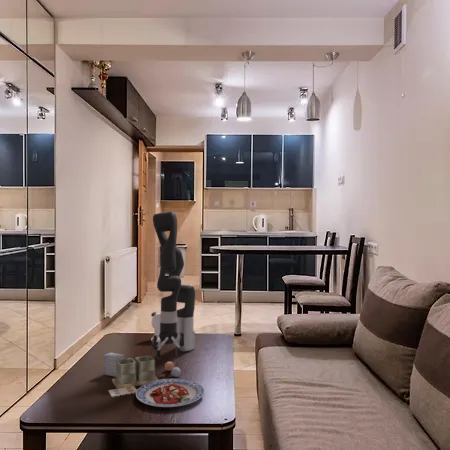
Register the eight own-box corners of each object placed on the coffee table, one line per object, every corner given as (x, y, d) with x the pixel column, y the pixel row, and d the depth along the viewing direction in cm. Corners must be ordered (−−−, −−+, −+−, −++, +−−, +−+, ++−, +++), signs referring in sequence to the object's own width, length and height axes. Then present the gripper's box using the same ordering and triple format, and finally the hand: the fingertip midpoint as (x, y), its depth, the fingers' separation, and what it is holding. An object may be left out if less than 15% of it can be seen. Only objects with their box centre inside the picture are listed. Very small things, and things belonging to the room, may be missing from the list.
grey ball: (178, 374, 181) (178, 365, 181) (181, 377, 178) (182, 368, 178) (169, 375, 179) (169, 366, 179) (173, 379, 176) (173, 369, 176)
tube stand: (152, 374, 180) (152, 354, 180) (158, 382, 172) (158, 360, 172) (112, 381, 173) (112, 359, 173) (117, 389, 165) (117, 366, 165)
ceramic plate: (124, 393, 161) (124, 385, 161) (182, 379, 177) (182, 372, 176) (155, 419, 140) (155, 410, 140) (217, 400, 156) (217, 392, 156)
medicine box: (124, 374, 181) (125, 354, 181) (118, 378, 177) (118, 357, 177) (110, 371, 184) (110, 352, 184) (103, 375, 180) (103, 354, 180)
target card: (133, 386, 167) (133, 385, 167) (137, 392, 162) (137, 391, 162) (108, 391, 163) (108, 390, 163) (111, 397, 157) (111, 395, 157)
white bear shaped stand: (174, 337, 240) (174, 311, 240) (169, 342, 229) (170, 315, 229) (153, 336, 241) (154, 310, 241) (148, 341, 230) (148, 314, 230)
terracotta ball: (172, 368, 188) (172, 359, 188) (175, 371, 185) (175, 362, 185) (163, 370, 187) (163, 361, 187) (166, 372, 183) (166, 363, 183)
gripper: (180, 317, 192) (180, 353, 192) (150, 320, 186) (149, 356, 186) (186, 321, 185) (185, 357, 185) (155, 323, 179) (154, 361, 179)
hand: (167, 357), depth 185 cm, fingers open, 8 cm apart
